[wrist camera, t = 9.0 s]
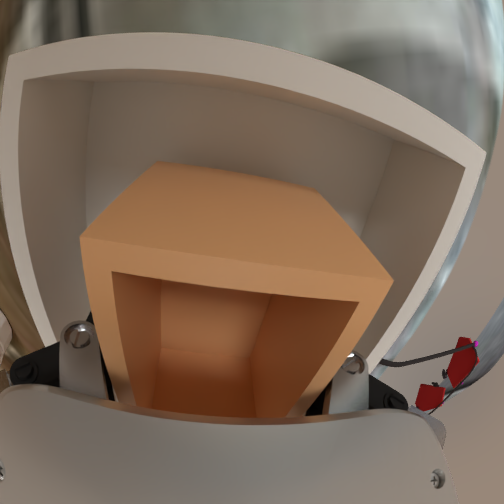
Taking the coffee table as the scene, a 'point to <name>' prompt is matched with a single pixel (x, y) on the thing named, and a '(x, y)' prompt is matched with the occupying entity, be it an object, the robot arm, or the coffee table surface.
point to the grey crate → (221, 154)
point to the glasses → (444, 373)
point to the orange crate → (226, 292)
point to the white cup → (4, 335)
